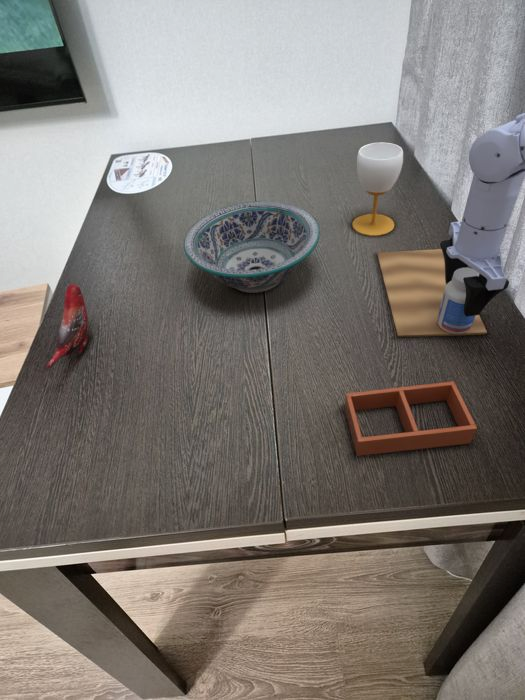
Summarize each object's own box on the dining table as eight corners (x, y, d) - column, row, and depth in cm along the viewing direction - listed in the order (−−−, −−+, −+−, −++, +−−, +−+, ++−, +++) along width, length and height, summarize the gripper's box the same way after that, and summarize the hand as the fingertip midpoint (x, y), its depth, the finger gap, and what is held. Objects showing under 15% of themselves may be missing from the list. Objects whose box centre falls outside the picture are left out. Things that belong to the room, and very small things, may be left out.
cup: (355, 213, 100) (359, 141, 89) (395, 215, 98) (406, 141, 86) (349, 234, 94) (353, 160, 83) (392, 237, 92) (403, 161, 81)
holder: (448, 396, 63) (453, 381, 60) (470, 443, 57) (477, 428, 55) (344, 408, 63) (345, 393, 61) (356, 456, 58) (358, 441, 55)
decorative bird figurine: (103, 320, 82) (82, 276, 75) (71, 394, 70) (43, 351, 62) (88, 320, 82) (66, 277, 75) (54, 395, 70) (24, 352, 63)
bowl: (344, 287, 82) (347, 243, 75) (222, 336, 76) (213, 293, 69) (282, 229, 98) (279, 188, 91) (177, 265, 92) (166, 225, 85)
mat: (486, 334, 71) (487, 332, 70) (397, 337, 72) (397, 335, 71) (448, 250, 87) (449, 248, 87) (376, 254, 88) (377, 252, 88)
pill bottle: (478, 330, 71) (496, 281, 64) (447, 338, 70) (462, 290, 63) (459, 309, 74) (474, 261, 67) (430, 317, 74) (442, 269, 67)
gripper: (436, 197, 64) (421, 273, 74) (478, 253, 54) (453, 332, 63) (485, 191, 64) (463, 268, 73) (535, 246, 54) (502, 327, 63)
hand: (461, 298), depth 68 cm, fingers open, 7 cm apart
